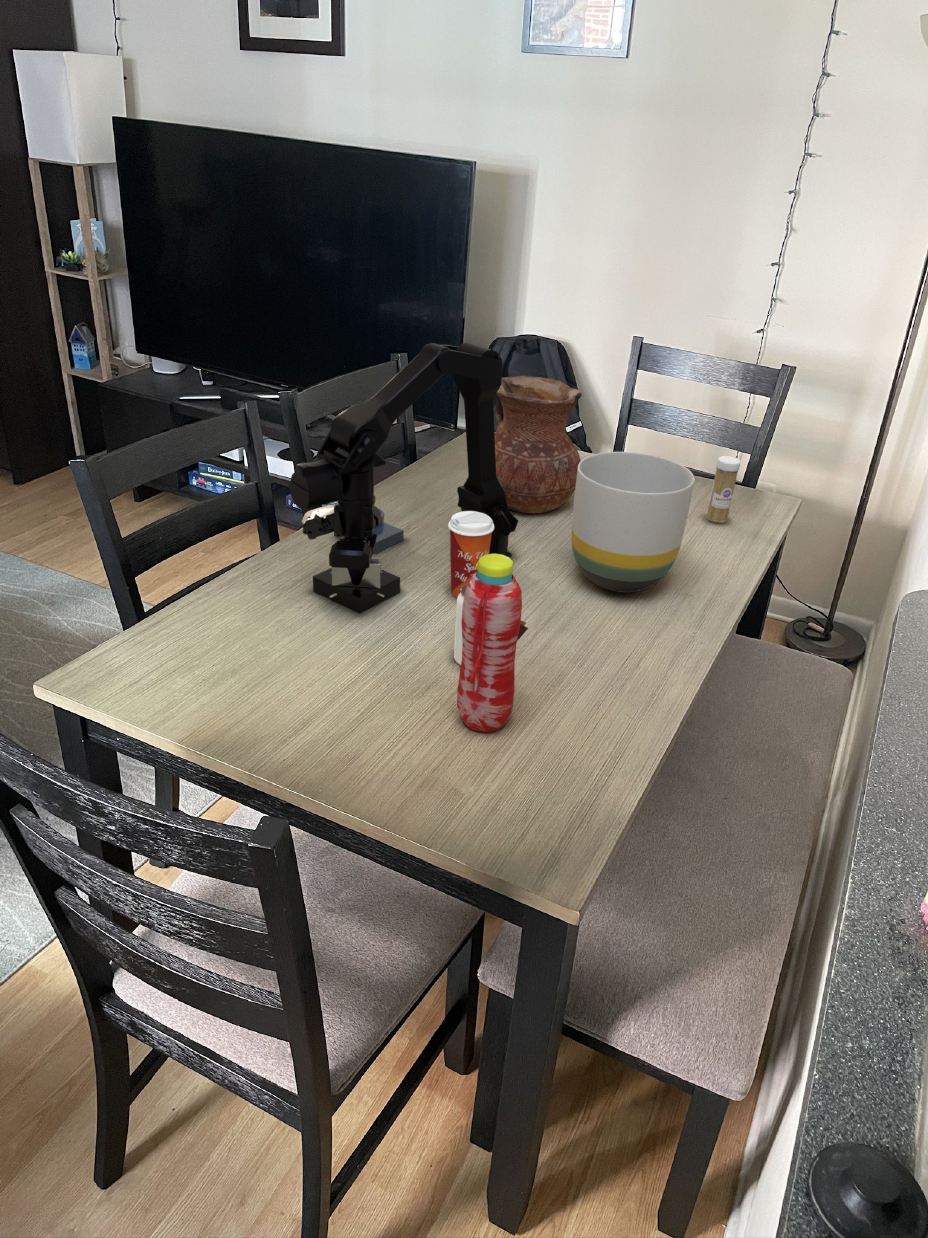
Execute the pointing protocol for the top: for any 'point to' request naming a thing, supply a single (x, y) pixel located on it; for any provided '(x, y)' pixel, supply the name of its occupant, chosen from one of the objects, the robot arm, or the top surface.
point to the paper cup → (467, 545)
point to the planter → (629, 518)
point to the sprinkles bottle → (723, 489)
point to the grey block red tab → (369, 578)
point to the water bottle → (489, 644)
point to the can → (459, 626)
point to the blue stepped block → (386, 535)
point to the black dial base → (356, 591)
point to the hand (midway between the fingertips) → (356, 581)
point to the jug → (535, 443)
